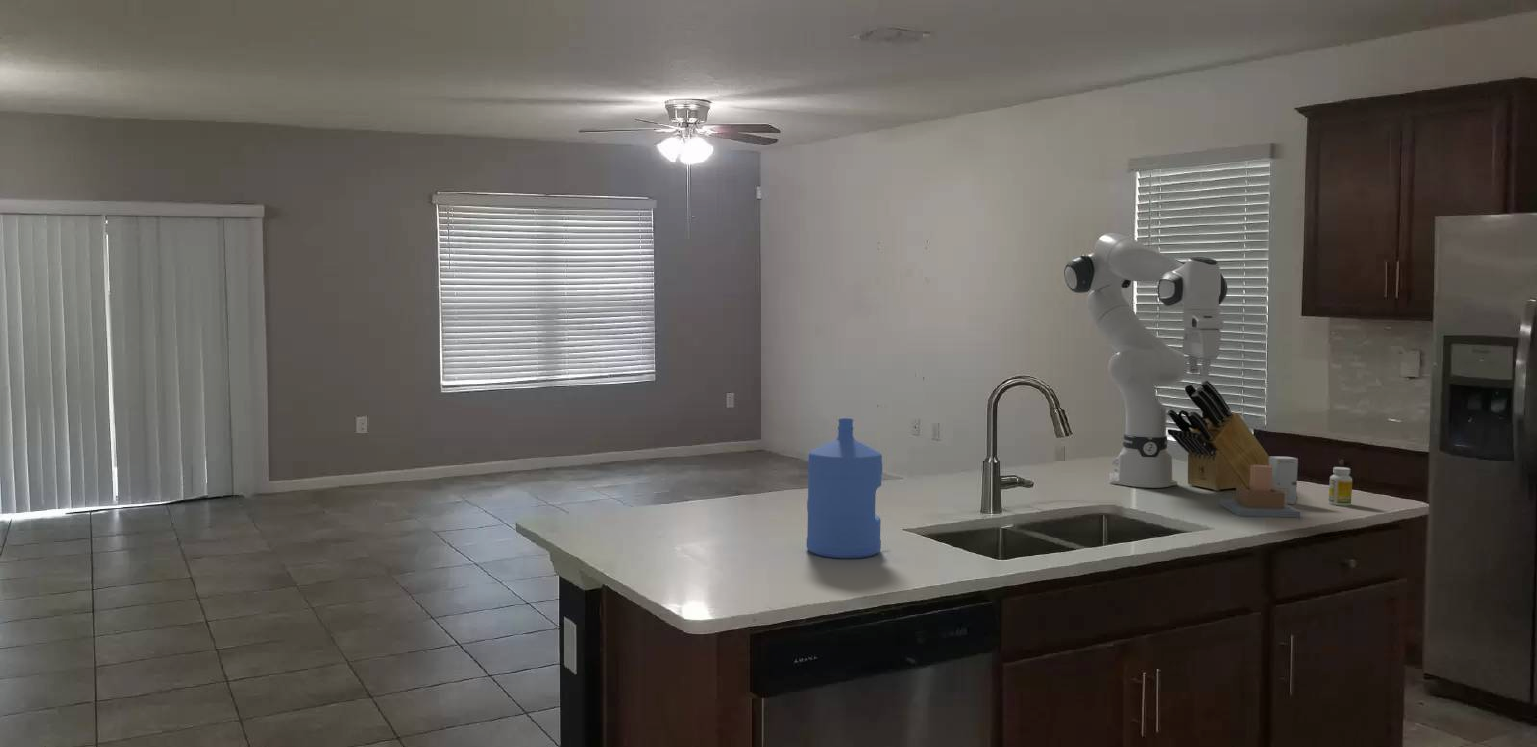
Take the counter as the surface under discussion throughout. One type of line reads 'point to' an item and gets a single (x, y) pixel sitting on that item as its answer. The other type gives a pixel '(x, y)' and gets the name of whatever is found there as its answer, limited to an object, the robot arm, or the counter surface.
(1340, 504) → the supplement bottle
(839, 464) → the water jug
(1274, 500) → the collar socket
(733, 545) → the counter surface
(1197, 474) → the knife block
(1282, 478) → the skincare box
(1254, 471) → the terracotta peg
